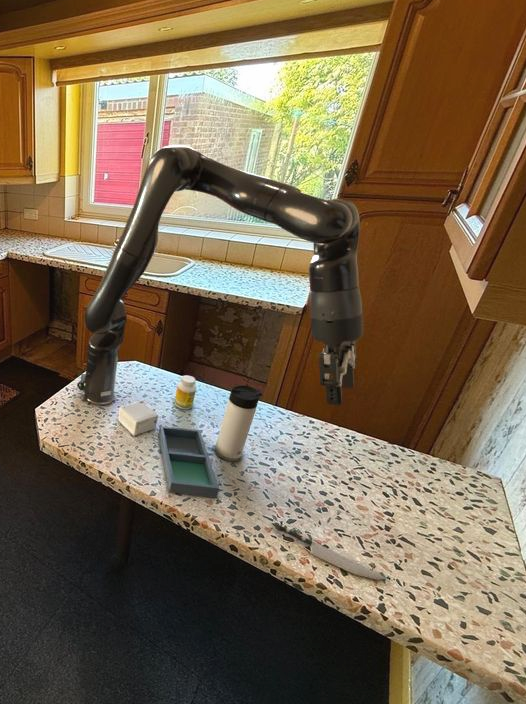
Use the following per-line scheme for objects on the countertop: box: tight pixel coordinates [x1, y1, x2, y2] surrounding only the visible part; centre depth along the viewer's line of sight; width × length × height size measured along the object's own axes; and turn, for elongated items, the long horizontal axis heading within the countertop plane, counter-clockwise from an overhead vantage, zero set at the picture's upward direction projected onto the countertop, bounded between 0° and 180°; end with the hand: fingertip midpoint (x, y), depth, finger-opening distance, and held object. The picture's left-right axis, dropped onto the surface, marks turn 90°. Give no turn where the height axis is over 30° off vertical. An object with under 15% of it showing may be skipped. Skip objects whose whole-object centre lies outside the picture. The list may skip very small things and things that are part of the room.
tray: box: [157, 425, 220, 499], centre depth 101 cm, size 11×20×3 cm, turn 171°
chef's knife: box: [273, 523, 388, 580], centre depth 79 cm, size 19×1×3 cm
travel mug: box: [214, 384, 263, 462], centre depth 100 cm, size 6×7×20 cm
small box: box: [117, 400, 159, 437], centre depth 114 cm, size 8×8×5 cm
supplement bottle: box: [173, 374, 197, 410], centre depth 121 cm, size 5×5×10 cm
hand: (341, 395), depth 75 cm, fingers open, 8 cm apart
